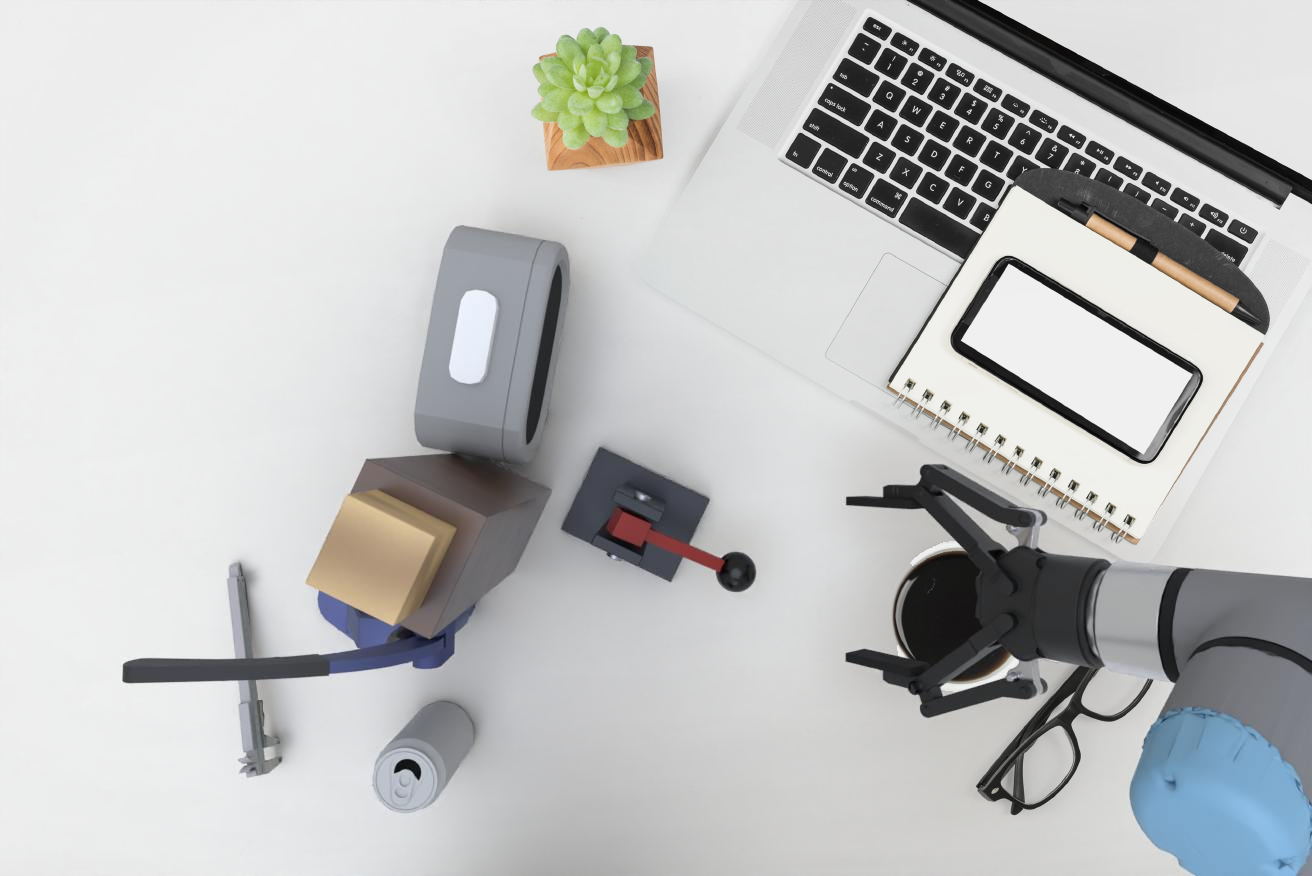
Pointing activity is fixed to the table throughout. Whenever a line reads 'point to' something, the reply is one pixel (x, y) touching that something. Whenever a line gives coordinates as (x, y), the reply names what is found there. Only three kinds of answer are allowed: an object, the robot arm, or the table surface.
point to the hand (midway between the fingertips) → (854, 577)
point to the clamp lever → (684, 550)
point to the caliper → (248, 685)
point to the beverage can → (423, 757)
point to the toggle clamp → (634, 511)
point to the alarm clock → (492, 345)
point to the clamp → (369, 634)
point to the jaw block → (381, 555)
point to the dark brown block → (461, 524)
